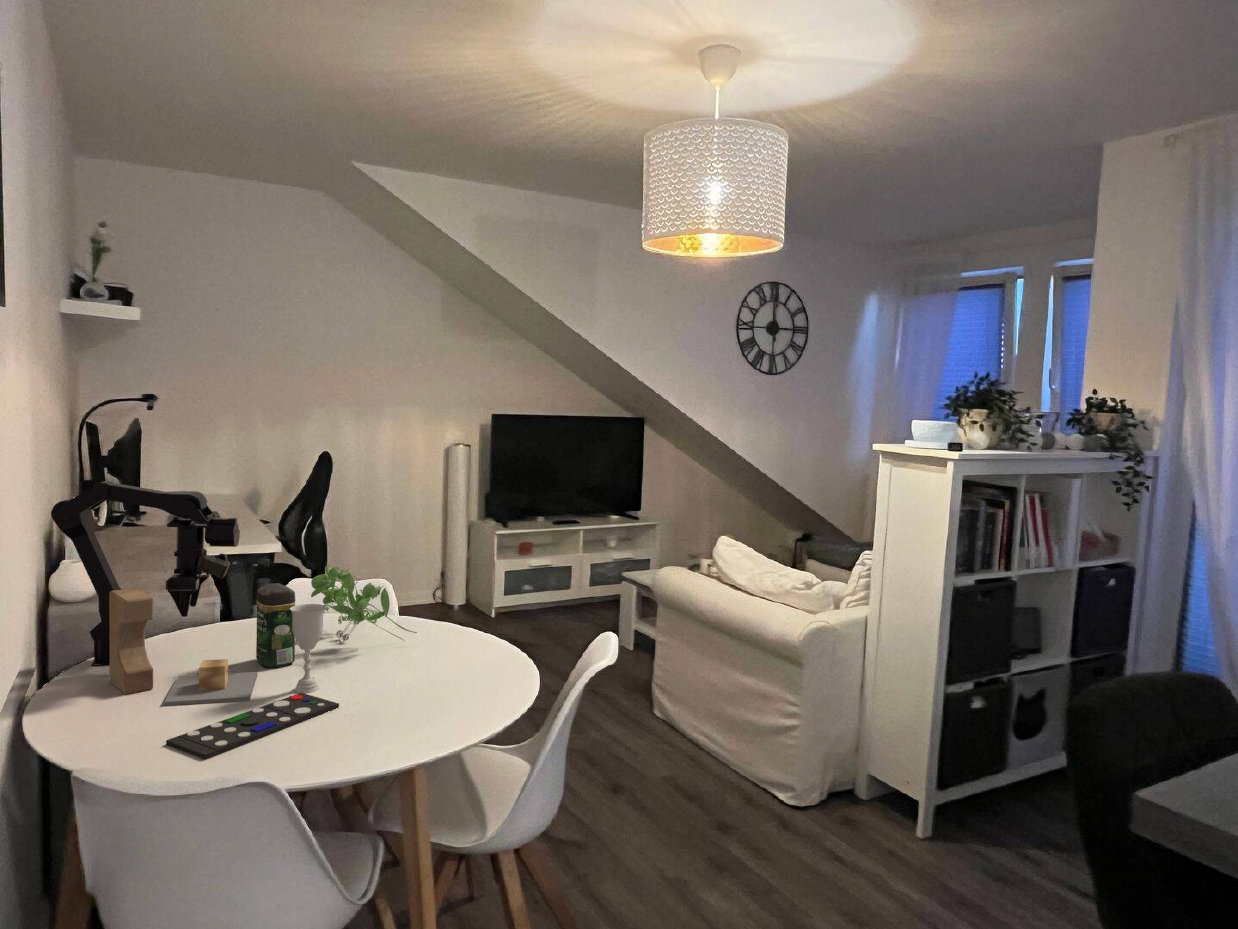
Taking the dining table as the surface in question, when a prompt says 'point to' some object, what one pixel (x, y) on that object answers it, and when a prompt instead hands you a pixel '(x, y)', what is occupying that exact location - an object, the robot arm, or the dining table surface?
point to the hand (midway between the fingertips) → (188, 611)
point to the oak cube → (213, 674)
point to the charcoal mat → (189, 691)
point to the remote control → (251, 725)
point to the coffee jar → (275, 625)
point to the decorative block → (130, 640)
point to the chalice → (307, 639)
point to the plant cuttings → (350, 598)
